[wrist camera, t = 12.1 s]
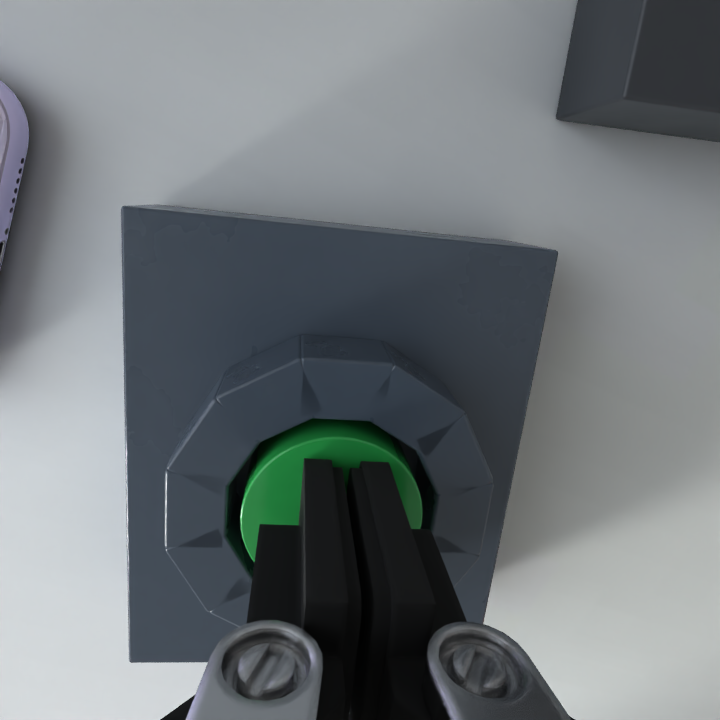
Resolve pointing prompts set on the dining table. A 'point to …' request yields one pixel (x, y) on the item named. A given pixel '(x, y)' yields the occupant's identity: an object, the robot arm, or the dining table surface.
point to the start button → (317, 441)
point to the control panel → (645, 67)
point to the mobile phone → (10, 157)
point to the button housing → (310, 390)
